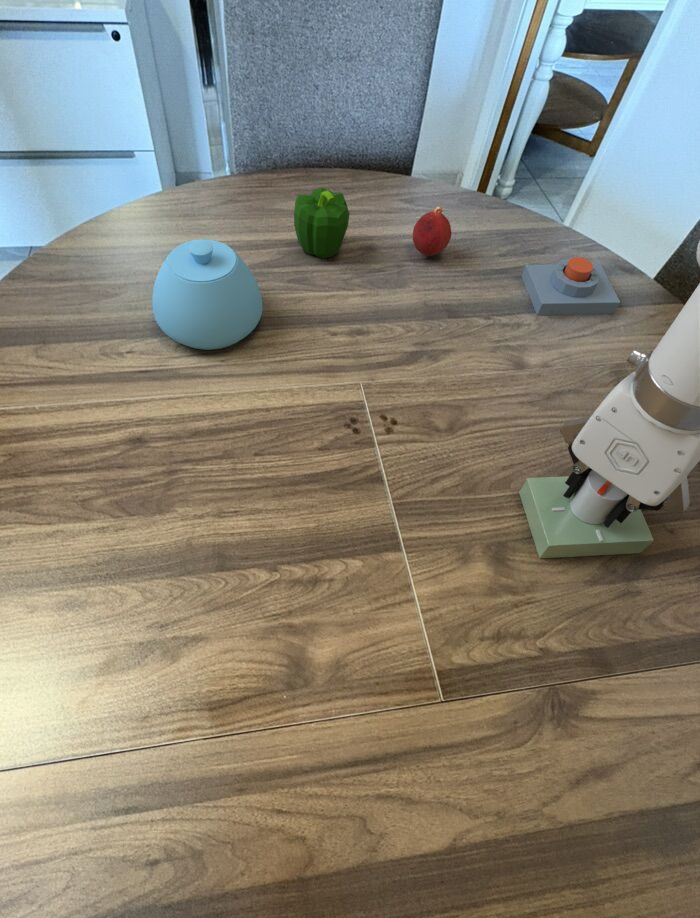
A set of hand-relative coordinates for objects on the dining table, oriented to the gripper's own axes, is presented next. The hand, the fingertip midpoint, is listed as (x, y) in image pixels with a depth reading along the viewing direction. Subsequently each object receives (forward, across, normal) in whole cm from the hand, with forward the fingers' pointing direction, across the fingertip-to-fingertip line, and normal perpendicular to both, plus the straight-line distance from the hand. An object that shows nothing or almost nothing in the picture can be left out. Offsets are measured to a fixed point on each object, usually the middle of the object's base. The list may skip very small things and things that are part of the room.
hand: (592, 503), depth 68 cm
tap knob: (+1, 0, 0) cm, 1 cm away
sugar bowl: (+4, -55, -10) cm, 56 cm away
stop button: (0, -24, +34) cm, 41 cm away
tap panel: (+4, 0, 0) cm, 4 cm away
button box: (+4, -24, +34) cm, 42 cm away
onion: (+4, -44, +25) cm, 51 cm away
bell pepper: (+4, -57, +14) cm, 58 cm away
